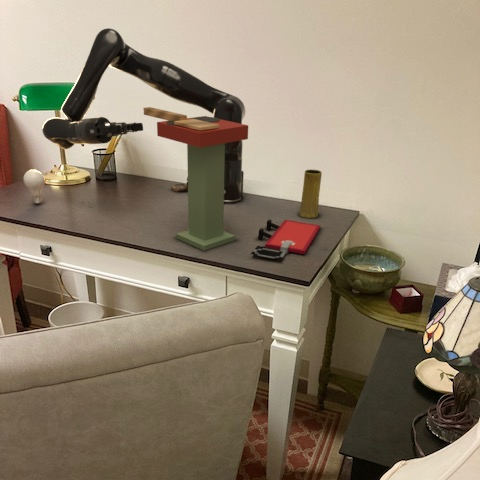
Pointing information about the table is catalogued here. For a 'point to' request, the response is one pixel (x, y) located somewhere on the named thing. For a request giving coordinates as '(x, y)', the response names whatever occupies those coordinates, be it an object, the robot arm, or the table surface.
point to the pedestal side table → (205, 177)
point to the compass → (180, 187)
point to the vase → (310, 194)
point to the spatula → (179, 119)
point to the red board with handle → (286, 239)
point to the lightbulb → (34, 184)
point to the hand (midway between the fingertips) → (131, 127)
